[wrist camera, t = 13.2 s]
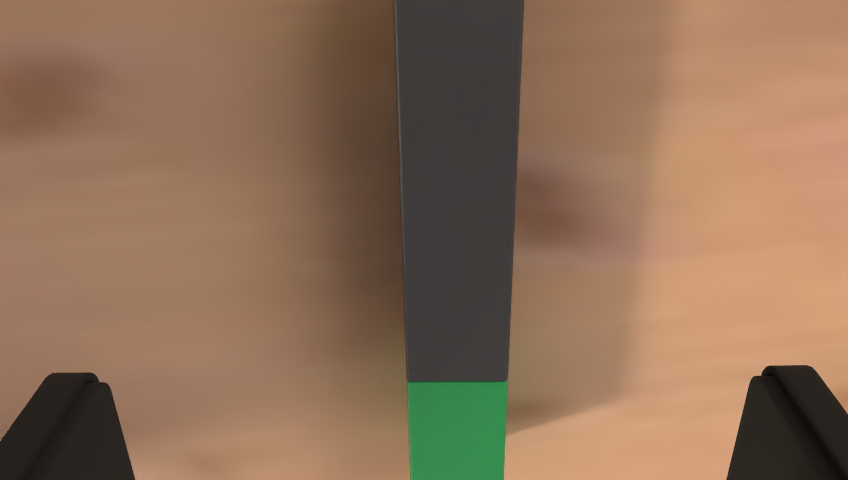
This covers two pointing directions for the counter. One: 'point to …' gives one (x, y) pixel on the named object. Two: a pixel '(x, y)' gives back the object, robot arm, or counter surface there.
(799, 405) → the robot arm
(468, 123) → the marker
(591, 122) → the counter surface
